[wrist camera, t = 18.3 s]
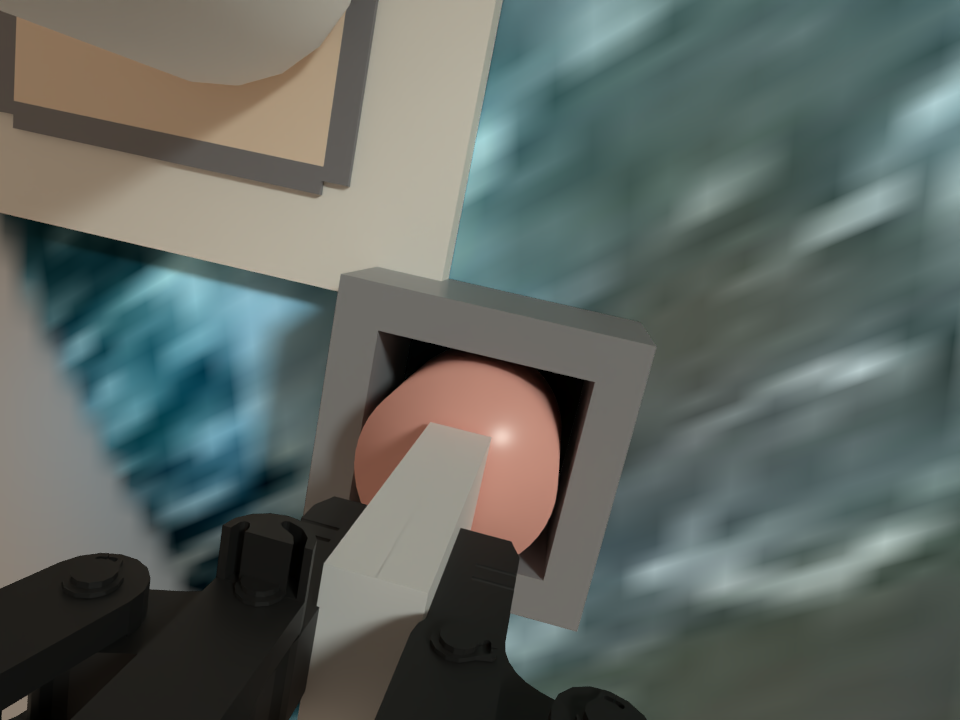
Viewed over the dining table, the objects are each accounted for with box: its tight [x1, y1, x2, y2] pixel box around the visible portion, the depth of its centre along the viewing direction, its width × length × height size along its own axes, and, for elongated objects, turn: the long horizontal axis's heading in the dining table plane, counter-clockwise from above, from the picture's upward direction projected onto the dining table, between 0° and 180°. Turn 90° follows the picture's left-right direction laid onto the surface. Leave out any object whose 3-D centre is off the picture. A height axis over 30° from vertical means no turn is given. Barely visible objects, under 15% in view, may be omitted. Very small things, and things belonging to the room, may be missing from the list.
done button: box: [354, 348, 562, 554], centre depth 17 cm, size 5×5×4 cm
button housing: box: [303, 267, 657, 632], centre depth 18 cm, size 8×8×4 cm
